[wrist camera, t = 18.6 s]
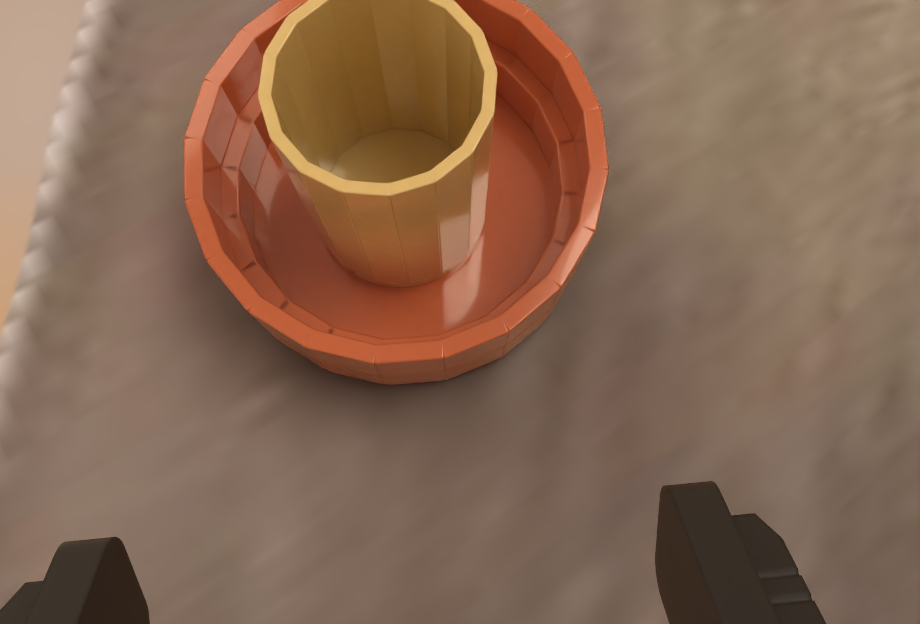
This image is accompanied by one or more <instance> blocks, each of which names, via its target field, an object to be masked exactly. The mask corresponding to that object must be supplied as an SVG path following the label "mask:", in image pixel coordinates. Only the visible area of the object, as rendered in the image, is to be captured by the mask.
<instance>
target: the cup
mask: <svg viewBox="0 0 920 624" xmlns="http://www.w3.org/2000/svg"><path fill="white" fill-rule="evenodd" d="M497 75H498V72H497V68H496V65H495V62H494V60H493V57H492V54H491V51H490V49H489V46H488V43H487V40H486V38H485V35H484V32H483V31H482V29H481V28H480V27H479V26H478V25H477V24H476V23H475V22H474V21H473V20H472V19H471V18H470V17H469V16H468V15H467V14H466V12H465V11H464V10H463V9H462V8H461V7H460V6H459V5H458V4H457V3H456V2H455V1H454V0H308V1H307V2H306V3H304V4H303V5H301V6H300V7H299V8H297V9H296V10H295V11H293V12H292V13H291V14H289V15H288V17H286V19H285V20H284V22H283V23H282V25H281V27H280V28H279V30H278V31H277V33H276V35H275V36H274V38H273V39H272V41H271V43H270V44H269V46H268V47H267V49H266V51H265V53H264V55H263V62H262V69H261V76H260V83H259V89H258V100H259V103H260V107H261V110H262V113H263V117H264V120H265V124H266V127H267V130H268V134H269V137H270V139H271V141H272V143H273V145H274V147H275V149H276V151H277V153H278V155H279V157H280V159H281V161H282V163H283V165H284V167H285V169H286V171H287V173H288V175H289V177H290V179H291V181H292V182H293V184H294V186H295V188H296V190H297V192H298V194H299V196H300V198H301V200H302V202H303V204H304V206H305V208H306V210H307V212H308V214H309V216H310V218H311V220H312V222H313V224H314V226H315V228H316V230H317V232H318V234H319V236H320V238H321V240H322V242H323V243H324V244H325V245H326V246H327V248H328V250H329V251H330V252H331V254H332V255H333V256H334V258H335V259H336V260H337V261H338V262H339V263H340V264H341V265H342V266H343V267H344V268H346V269H347V270H348V271H350V272H351V273H352V274H354V275H356V276H358V277H359V278H361V279H364V280H366V281H368V282H371V283H374V284H378V285H381V286H388V287H411V286H417V285H421V284H426V283H428V282H431V281H434V280H436V279H438V278H440V277H442V276H444V275H446V274H447V273H449V272H450V271H452V270H453V269H454V268H456V267H457V266H458V265H459V264H460V263H461V262H462V261H463V260H464V259H465V258H466V257H467V255H468V254H469V253H470V252H471V250H472V249H473V247H474V245H475V244H476V242H477V240H478V237H479V235H480V233H481V230H482V226H483V224H484V221H485V210H486V200H487V189H488V178H489V167H490V156H491V146H492V135H493V124H494V113H495V100H496V87H497Z"/></svg>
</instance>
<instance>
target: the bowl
mask: <svg viewBox="0 0 920 624" xmlns="http://www.w3.org/2000/svg"><path fill="white" fill-rule="evenodd" d="M307 1H308V0H280V1H279V2H277V3H276V4H274V5H273V6H272V7H270V8H269V9H268V10H266V11H265V12H264V13H262V14H261V15H259V16H258V17H257V18H255V19H254V20H253V21H251V22H250V23H248V24H247V25H246V26H244V27H243V28H242V29H241V30H240V31H239V32H238V33H237V35H236V36H235V38H234V39H233V40H232V42H231V43H230V44H229V46H228V47H227V48H226V50H225V51H224V52H223V54H222V55H221V56H220V58H219V59H218V60H217V62H216V63H215V64H214V66H213V67H212V68H211V70H210V71H209V72H208V74H207V75H206V76H205V78H204V79H205V80H204V81H203V83H202V86H201V89H200V92H199V95H198V98H197V101H196V104H195V107H194V110H193V113H192V116H191V119H190V122H189V125H188V128H187V131H186V134H185V139H184V199H185V204H186V207H187V210H188V213H189V215H190V218H191V221H192V224H193V227H194V229H195V232H196V235H197V238H198V240H199V243H200V246H201V249H202V251H203V254H204V257H205V259H206V260H207V263H208V264H209V265H210V267H211V268H212V269H213V270H214V272H215V273H216V274H217V275H218V276H219V278H220V279H221V280H222V281H223V283H224V284H225V285H226V286H227V287H228V289H229V290H230V291H231V292H232V294H233V295H234V296H235V297H236V298H237V300H238V301H239V302H240V303H241V305H242V306H243V307H244V308H245V309H246V311H247V312H249V313H250V314H251V315H252V316H253V317H254V318H255V319H256V320H257V321H258V322H259V323H260V324H261V325H262V326H263V327H264V328H266V329H267V330H268V331H269V332H270V333H271V334H272V335H273V336H274V337H275V338H276V339H277V340H278V341H280V342H281V343H283V344H285V345H286V346H288V347H290V348H291V349H293V350H294V351H296V352H298V353H299V354H301V355H302V356H304V357H306V358H307V359H309V360H311V361H312V362H314V363H315V364H317V365H319V366H320V367H322V368H323V369H325V370H329V371H330V372H334V373H338V374H343V375H347V376H351V377H355V378H359V379H363V380H368V381H372V382H376V383H380V384H387V385H392V384H405V383H418V382H431V381H443V380H446V379H451V378H453V377H455V376H458V375H460V374H463V373H465V372H468V371H470V370H473V369H475V368H477V367H480V366H482V365H485V364H487V363H490V362H492V361H495V360H497V359H499V358H501V356H505V355H506V354H507V353H508V352H509V351H510V350H512V349H513V348H514V347H515V346H516V345H517V344H519V343H520V342H521V341H522V340H523V339H525V338H526V337H527V336H528V335H529V334H530V333H532V332H533V331H534V330H535V329H536V328H537V327H539V326H540V325H541V324H542V323H543V322H545V321H546V319H547V318H548V317H549V315H550V314H551V312H552V310H553V309H554V307H555V306H556V304H557V302H558V301H559V299H560V297H561V296H562V294H563V292H564V291H565V289H566V287H567V286H568V284H569V282H570V281H571V279H572V277H573V276H574V274H575V272H576V270H577V268H578V266H579V264H580V262H581V260H582V258H583V256H584V254H585V252H586V250H587V248H588V246H589V244H590V242H591V240H592V238H593V236H594V234H595V231H596V229H597V224H598V219H599V215H600V210H601V205H602V201H603V196H604V191H605V187H606V182H607V177H608V173H609V172H608V169H609V166H608V158H607V150H606V142H605V134H604V126H603V118H602V110H601V109H600V105H599V103H598V101H597V99H596V97H595V95H594V93H593V91H592V89H591V87H590V85H589V83H588V81H587V78H586V76H585V74H584V72H583V70H582V68H581V66H580V64H579V62H578V60H577V58H576V56H575V55H574V54H573V51H572V50H571V49H570V48H569V47H568V46H567V45H566V44H565V43H564V42H563V41H562V40H561V39H560V38H559V37H558V36H557V35H556V34H555V33H554V32H553V31H552V30H551V29H550V28H549V27H548V26H547V25H546V24H545V23H544V22H543V21H542V19H541V18H540V17H539V16H538V15H537V14H536V13H535V12H534V11H533V10H530V8H528V7H527V6H525V5H523V4H521V3H519V2H517V1H516V0H454V1H455V2H456V3H457V4H458V5H459V6H460V7H461V8H462V9H463V10H464V11H465V12H466V14H467V15H468V16H469V17H470V18H471V19H472V20H473V21H474V22H475V23H476V24H477V25H478V26H479V27H480V28H481V29H482V31H483V32H484V35H485V38H486V40H487V43H488V46H489V49H490V51H491V54H492V57H493V60H494V62H495V65H496V68H497V72H498V75H497V87H496V100H495V113H494V124H493V135H492V146H491V156H490V167H489V178H488V189H487V200H486V210H485V221H484V224H483V226H482V230H481V233H480V235H479V237H478V240H477V242H476V244H475V245H474V247H473V249H472V250H471V252H470V253H469V254H468V255H467V257H466V258H465V259H464V260H463V261H462V262H461V263H460V264H459V265H458V266H457V267H456V268H454V269H453V270H452V271H450V272H449V273H447V274H446V275H444V276H442V277H440V278H438V279H436V280H434V281H431V282H428V283H426V284H421V285H417V286H411V287H388V286H381V285H378V284H374V283H371V282H368V281H366V280H364V279H361V278H359V277H358V276H356V275H354V274H352V273H351V272H350V271H348V270H347V269H346V268H344V267H343V266H342V265H341V264H340V263H339V262H338V261H337V260H336V259H335V258H334V256H333V255H332V254H331V252H330V251H329V250H328V248H327V246H326V245H325V244H324V243H323V242H322V240H321V238H320V236H319V234H318V232H317V230H316V228H315V226H314V224H313V222H312V220H311V218H310V216H309V214H308V212H307V210H306V208H305V206H304V204H303V202H302V200H301V198H300V196H299V194H298V192H297V190H296V188H295V186H294V184H293V182H292V181H291V179H290V177H289V175H288V173H287V171H286V169H285V167H284V165H283V163H282V161H281V159H280V157H279V155H278V153H277V151H276V149H275V147H274V145H273V143H272V141H271V139H270V137H269V134H268V130H267V127H266V124H265V120H264V117H263V113H262V110H261V107H260V103H259V100H258V89H259V83H260V76H261V69H262V62H263V55H264V53H265V51H266V49H267V47H268V46H269V44H270V43H271V41H272V39H273V38H274V36H275V35H276V33H277V31H278V30H279V28H280V27H281V25H282V23H283V22H284V20H285V19H286V17H288V15H289V14H291V13H292V12H293V11H295V10H296V9H297V8H299V7H300V6H301V5H303V4H304V3H306V2H307Z"/></svg>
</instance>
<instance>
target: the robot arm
mask: <svg viewBox="0 0 920 624" xmlns="http://www.w3.org/2000/svg"><path fill="white" fill-rule="evenodd" d="M655 565H656V575H657V582H658V587H659V592H660V595H661V599H662V602H663V605H664V608H665V611H666V614H667V617H668V620H669V623H670V624H826V623H825V621H824V619H823V617H822V615H821V613H820V611H819V609H818V607H817V605H816V603H815V601H812V599H811V593H810V591H809V589H808V588H807V586H806V584H805V582H804V580H803V578H802V576H801V575H800V576H799V573H798V568H797V566H796V564H795V562H794V560H793V558H792V556H791V554H790V552H789V551H788V549H787V547H786V545H785V543H784V541H783V539H782V538H781V537H780V536H779V535H778V534H777V533H776V532H775V531H773V530H772V529H771V528H770V527H769V526H768V525H767V524H766V523H765V522H764V521H762V520H761V519H760V518H759V517H758V516H757V515H756V514H755V513H754V514H744V515H734V516H731V514H730V512H729V509H728V507H727V505H726V503H725V501H724V499H723V496H722V494H721V492H720V490H719V488H718V486H717V485H716V484H715V483H714V482H713V481H709V482H698V483H688V484H678V485H667V486H663V487H662V489H661V492H660V503H659V515H658V527H657V540H656V552H655ZM0 624H150V621H149V611H148V607H147V603H146V600H145V598H144V595H143V593H142V590H141V588H140V585H139V582H138V580H137V577H136V575H135V572H134V570H133V567H132V565H131V562H130V559H129V557H128V554H127V552H126V549H125V547H124V544H123V542H122V541H121V540H120V539H119V538H117V537H110V538H100V539H90V540H79V541H69V542H64V543H62V544H61V545H60V546H59V548H58V549H57V551H56V553H55V555H54V557H53V559H52V562H51V564H50V566H49V569H48V571H47V573H46V576H45V578H44V580H43V581H38V582H28V583H25V584H24V585H23V586H22V587H21V588H20V589H19V590H18V591H17V592H16V594H15V595H14V596H13V597H12V598H11V599H10V600H9V601H8V602H7V603H6V604H5V606H4V607H3V608H2V609H1V610H0Z"/></svg>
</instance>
